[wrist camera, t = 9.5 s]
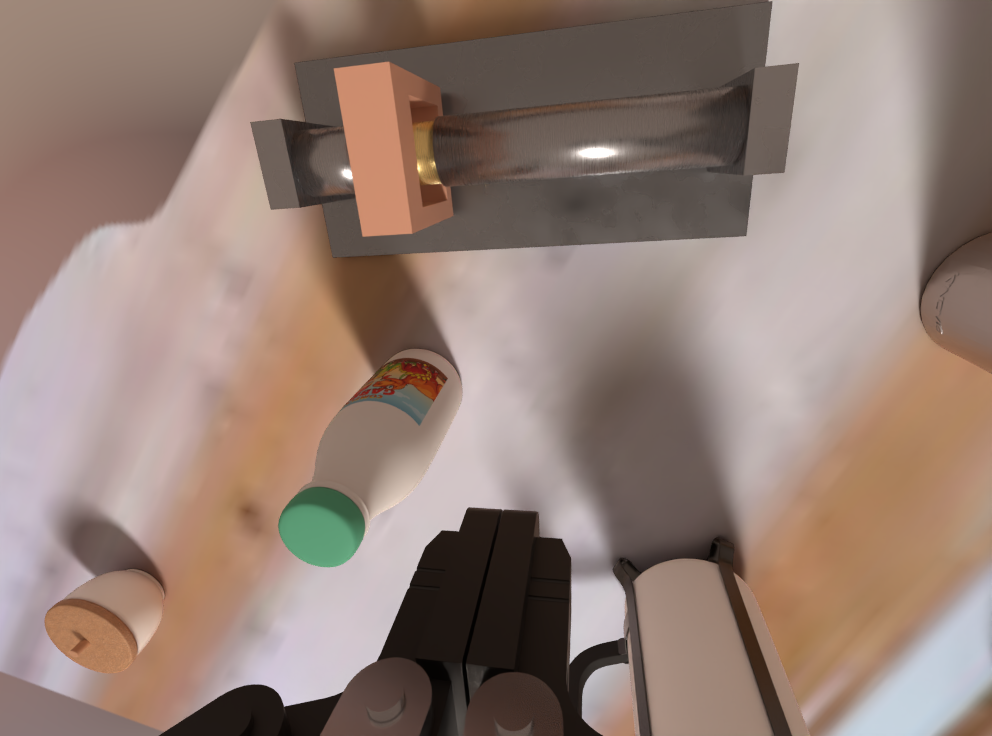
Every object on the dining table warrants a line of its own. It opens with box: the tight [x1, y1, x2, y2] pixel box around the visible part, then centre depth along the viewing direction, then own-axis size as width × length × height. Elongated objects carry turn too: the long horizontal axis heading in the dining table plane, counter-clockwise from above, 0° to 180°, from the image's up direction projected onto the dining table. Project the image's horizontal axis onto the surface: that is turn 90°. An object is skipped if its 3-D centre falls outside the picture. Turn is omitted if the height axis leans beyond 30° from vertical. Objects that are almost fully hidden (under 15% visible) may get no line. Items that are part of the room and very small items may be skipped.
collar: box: [334, 62, 453, 237], centre depth 31 cm, size 3×8×10 cm, turn 4°
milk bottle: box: [278, 349, 463, 567], centre depth 36 cm, size 8×8×20 cm
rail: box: [250, 1, 799, 257], centre depth 32 cm, size 32×14×9 cm, turn 94°
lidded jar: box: [45, 569, 165, 673], centre depth 59 cm, size 11×11×9 cm
